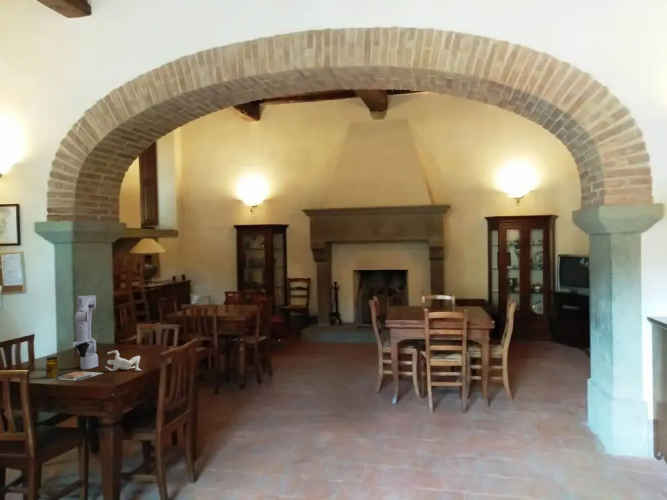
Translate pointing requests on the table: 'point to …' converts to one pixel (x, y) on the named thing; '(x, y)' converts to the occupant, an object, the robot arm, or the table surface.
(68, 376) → the tile
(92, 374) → the board
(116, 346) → the table surface
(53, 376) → the condiment
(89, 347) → the robot arm
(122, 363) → the person figurine
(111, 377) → the table surface
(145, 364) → the table surface
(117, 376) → the table surface
